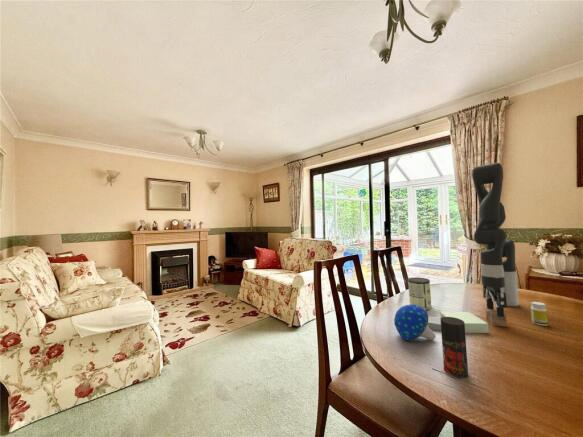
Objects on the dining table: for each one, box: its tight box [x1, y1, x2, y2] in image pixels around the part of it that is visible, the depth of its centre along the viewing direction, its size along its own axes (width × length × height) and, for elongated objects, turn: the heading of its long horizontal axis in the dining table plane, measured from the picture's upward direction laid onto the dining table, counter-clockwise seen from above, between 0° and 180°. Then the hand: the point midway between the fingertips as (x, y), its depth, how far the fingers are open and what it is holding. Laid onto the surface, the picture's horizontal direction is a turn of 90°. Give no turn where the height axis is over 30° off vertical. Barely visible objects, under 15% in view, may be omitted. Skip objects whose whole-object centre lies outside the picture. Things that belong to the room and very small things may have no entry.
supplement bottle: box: [530, 301, 549, 327], centre depth 96 cm, size 5×5×8 cm
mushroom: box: [393, 304, 437, 342], centre depth 89 cm, size 14×14×15 cm
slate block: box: [427, 315, 441, 332], centre depth 98 cm, size 7×7×3 cm
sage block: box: [439, 311, 489, 334], centre depth 98 cm, size 12×12×4 cm
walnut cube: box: [485, 308, 508, 327], centre depth 99 cm, size 5×5×5 cm
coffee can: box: [407, 276, 433, 311], centre depth 122 cm, size 10×10×14 cm
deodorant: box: [440, 317, 469, 379], centre depth 69 cm, size 6×6×15 cm
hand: (495, 313), depth 99 cm, fingers open, 8 cm apart
